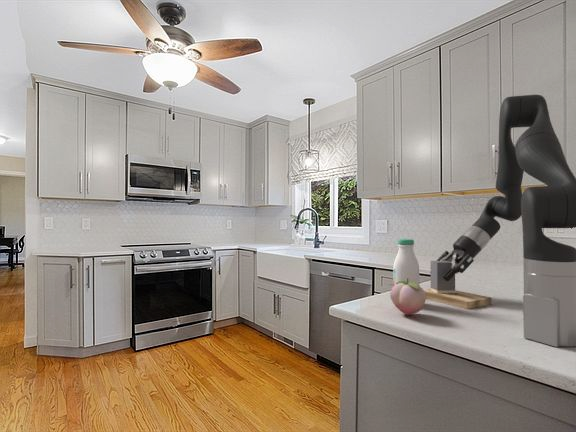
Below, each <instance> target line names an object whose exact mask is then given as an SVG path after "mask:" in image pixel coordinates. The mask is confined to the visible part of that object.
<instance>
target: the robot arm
mask: <svg viewBox="0 0 576 432" xmlns="http://www.w3.org/2000/svg"><path fill="white" fill-rule="evenodd" d="M498 118H499V119H498V163H497V164H498V165H497V173H496V181H495V190H496V191H498V192H499V193H501V194H502V195H504V196H501V195H495V196H493V197H491V198H490V199H488V201H487V202H486V205H485V206H484V208H483V210H482V212H481V214H480V216H479V218H478V219H477V220H476V221H475V222H473V224H472V225H471V226H470V227H469V228H468V229H467V230H465V231H464V232H463V234H461V236H459V238H457V239H456V240H455V242H453V244H452V248H453V250H452V251H450V252H449V251H448V250H445V251H444V252H443V253H442V254H441V255H440V256H439V257H438V258H437V259H436V260H435V261H449V262H451V263H452V266H451V269H449V270H448V271H447V272H446V273H445V274H444V275H443V276H442V277H443V278H444V279H445V280H446V281H449V280H450V279H451V278H452V277H453V276H454V275H455V276H456V275H457V274H459V273H460V274H463V273H465V271H466V270H467V269H468V268H469V267H470V266H471V265H472V264H473V263H474V261H475V260H474V259H475V257H477V255H478V254H480V252H481V251H482V250H483V249H484V248H485V247H486V246H487V245H488V243H489V242H490V241H491V240H492V238H493V237H494V236H495V235H496V234H497V233H498V232H499V231H500V230H501V224H500V222H498V220H497V219H495V217H497V218H500V219H502V220H505V221H508V222H515V221H517V220H519V219H520V218H521V222H522V223H521V224H522V247H523V248H522V249H523V250H522V253H523V255H522V257H523V258H522V259H523V260H522V262H523V264H522V265H523V272H522V273H523V296H522V299H523V301H522V303H523V306H522V309H523V310H522V311H523V312H522V313H523V318H522V319H523V323H522V324H523V338H525V339H528V340H531V341H534V342H537V343H542V344H546V345H549V346H552V347H556V348H558V347H576V247H574V246H573V245H569V244H564V243H561V242H558V241H556V240H554V239H551V238H549V237H548V236H547V235H545V234H544V232H543V229H574V228H576V177H575V175H574V173H573V172H572V170H571V168H570V166H569V163H568V161H567V159H566V157H565V154H564V151H563V147H562V145H561V142H560V140H559V138H558V136H557V134H556V132H555V130H554V127H553V124H552V121H551V118H550V113H549V108H548V103H547V100H546V98H545V97H544V96H543V95H540V94H526V95H513V96H506V97H505V98H504V99H503V101H502V103H501V106H500V111H499V117H498ZM514 128H517V129H518V128H527V129H526V130H525V131H524V132H523V133H522V134H520V136H519V137H518V139H517V140H516V141H515V144H514V143H513V139H512V129H514ZM524 173H526V174H528V176H530V177H532V178H534V179H535V180H537V181H538V182H540V183H541V182H542V183H543V184H545V185H544V186H543V185H542V186H528V187H527V188H525V189H524V190H523V191H522V182H523V178H524ZM429 273H430V275H431V271H430V272H429Z"/></svg>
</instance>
